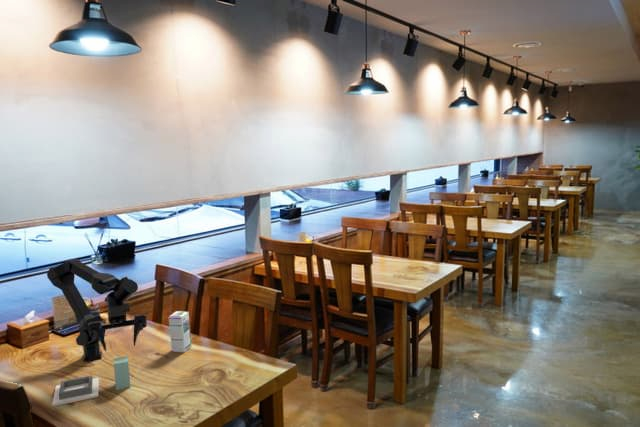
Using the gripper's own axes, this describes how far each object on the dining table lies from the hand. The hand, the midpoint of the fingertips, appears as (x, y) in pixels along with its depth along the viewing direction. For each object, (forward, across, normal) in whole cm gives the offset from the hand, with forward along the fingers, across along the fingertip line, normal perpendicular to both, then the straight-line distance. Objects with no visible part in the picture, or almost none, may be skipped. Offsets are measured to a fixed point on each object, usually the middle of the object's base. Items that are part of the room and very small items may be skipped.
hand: (120, 347), depth 169 cm
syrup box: (-4, +22, +20) cm, 30 cm away
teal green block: (+12, 0, +4) cm, 12 cm away
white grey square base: (+10, -14, +6) cm, 18 cm away
